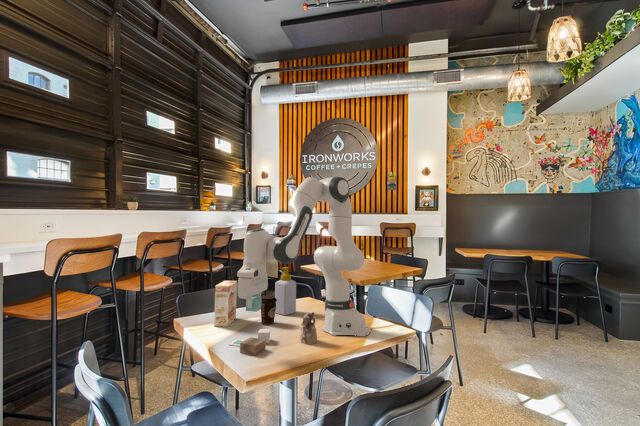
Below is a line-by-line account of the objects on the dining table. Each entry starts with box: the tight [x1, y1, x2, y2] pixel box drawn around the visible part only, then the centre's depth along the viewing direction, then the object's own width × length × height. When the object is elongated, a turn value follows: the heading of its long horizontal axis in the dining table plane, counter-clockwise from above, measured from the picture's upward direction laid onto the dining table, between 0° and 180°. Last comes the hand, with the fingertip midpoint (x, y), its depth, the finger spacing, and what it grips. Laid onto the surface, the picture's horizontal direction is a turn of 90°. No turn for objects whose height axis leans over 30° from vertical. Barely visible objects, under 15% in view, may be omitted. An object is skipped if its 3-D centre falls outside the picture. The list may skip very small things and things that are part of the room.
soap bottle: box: [274, 266, 297, 316], centre depth 185 cm, size 9×9×25 cm
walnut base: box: [239, 336, 267, 357], centre depth 130 cm, size 7×7×4 cm
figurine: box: [299, 311, 318, 345], centre depth 141 cm, size 7×7×12 cm
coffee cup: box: [260, 295, 277, 326], centre depth 166 cm, size 9×8×13 cm
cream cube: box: [257, 328, 271, 344], centre depth 141 cm, size 4×4×4 cm
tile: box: [228, 338, 246, 347], centre depth 138 cm, size 6×6×1 cm
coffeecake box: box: [213, 280, 238, 328], centre depth 167 cm, size 15×7×20 cm, turn 179°
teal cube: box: [245, 296, 263, 313], centre depth 130 cm, size 4×4×4 cm
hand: (253, 305), depth 130 cm, fingers closed on teal cube, 4 cm apart
